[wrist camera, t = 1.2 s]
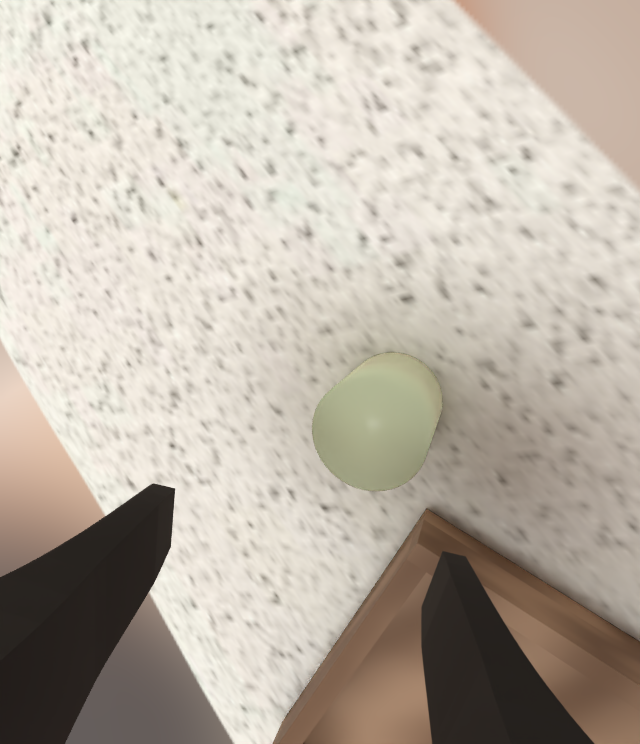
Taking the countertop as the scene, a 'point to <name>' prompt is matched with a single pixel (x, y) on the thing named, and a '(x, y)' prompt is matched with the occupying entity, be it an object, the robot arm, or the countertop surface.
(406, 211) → the countertop surface
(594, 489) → the countertop surface
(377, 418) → the cucumber chunk
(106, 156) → the countertop surface
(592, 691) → the serving tray
